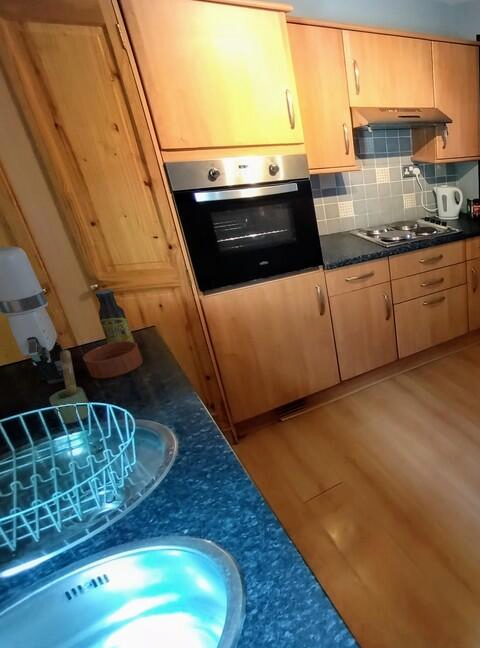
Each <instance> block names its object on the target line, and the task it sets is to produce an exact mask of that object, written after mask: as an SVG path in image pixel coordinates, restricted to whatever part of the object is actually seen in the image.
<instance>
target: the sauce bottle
mask: <svg viewBox="0 0 480 648" xmlns="http://www.w3.org/2000/svg"><path fill="white" fill-rule="evenodd" d="M95 296H96V298H97V299H98V303H99V309H98V317H99V318H98V319H99V323H100V325H101V329H102V331H103V334H104V337H105V340H106V342H107V343H106V344H110V343H114V342H121V341H132V342H135V339H134V337H133V334H132V331H131V328H130V325H129V321H128V318H127V316H126V314H125V311H124V309H123V307H121V306H120V305H118V303H117V301H116V298H115V292H114V290H113V289H111V288H105V289H100V290H97V291H96V292H95Z"/></svg>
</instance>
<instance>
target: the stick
mask: <svg viewBox="0 0 480 648" xmlns="http://www.w3.org/2000/svg"><path fill="white" fill-rule="evenodd" d="M60 359H61V364H62V370H63V375H64V380H65V381H64V385H65V389H66V391H67V396H68V397H70V396H72V395H74V394H75V393H77V388H76V387H77V382H76V377H75V372H74V365H73V360H72V356H71V351H69V350H68V349H62V351H61V352H60Z"/></svg>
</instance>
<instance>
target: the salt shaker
mask: <svg viewBox="0 0 480 648" xmlns="http://www.w3.org/2000/svg"><path fill="white" fill-rule="evenodd" d="M39 350H42V349H39ZM41 355H43V356H45V355H44V354H40V356H41ZM55 364H56V366H57V368H58V370H59V372H60V376H59V377H55V378H51V379H47V383H48V384H50V385H51V384H59V383H62V382H65V380H64V375H63V370H62V364H61V361H56V362H55Z"/></svg>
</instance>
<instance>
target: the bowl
mask: <svg viewBox="0 0 480 648" xmlns="http://www.w3.org/2000/svg"><path fill="white" fill-rule="evenodd" d="M82 361H83V363H84V365H85V368H86V370H87V372H88V374H89V376H90V377H91V378H95V379H107V378H108V379H109V378H114V377H118V376H122V375H124V374H127V373H130V372H131V371H134V370H135V369H137V368H138V367H141V365H142V363H144V357H143V356H142V353H141V350H140V348H139V345H138V343H137V342H135V341H134V342H132V341H121V342H114V343H110V344H108V343H106V344H103V345H100V346H97V347H95V348H93V349H91V350H89V351H88V352H86V353H85V354H84V355H83V356H82Z"/></svg>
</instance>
